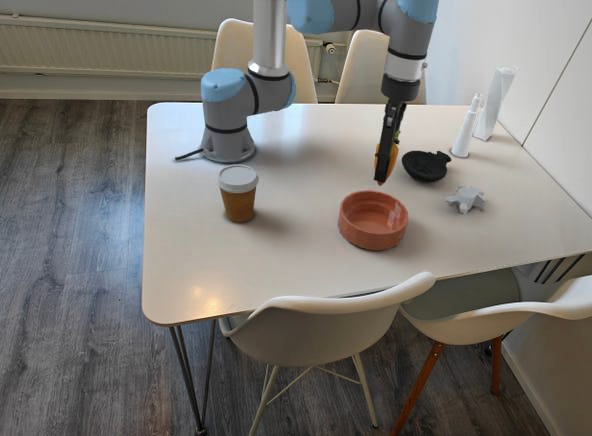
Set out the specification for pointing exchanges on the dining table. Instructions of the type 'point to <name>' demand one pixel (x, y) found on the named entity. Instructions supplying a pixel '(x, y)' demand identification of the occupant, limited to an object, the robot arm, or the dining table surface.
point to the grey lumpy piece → (467, 198)
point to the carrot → (393, 157)
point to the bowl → (372, 219)
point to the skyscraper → (494, 101)
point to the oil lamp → (426, 165)
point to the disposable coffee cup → (238, 191)
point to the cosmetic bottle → (467, 128)
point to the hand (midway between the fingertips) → (382, 174)
